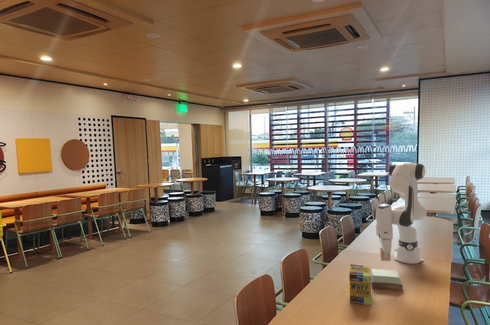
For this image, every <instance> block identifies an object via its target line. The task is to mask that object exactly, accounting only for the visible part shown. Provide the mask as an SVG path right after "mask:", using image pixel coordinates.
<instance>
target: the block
mask: <svg viewBox="0 0 490 325" xmlns="http://www.w3.org/2000/svg"><path fill="white" fill-rule="evenodd" d="M379 258H380V261H382V262H385V261H386V262H391V261H392V259H391V253H388V258H385V257H384V251H383V249H382V247H379Z"/></svg>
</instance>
